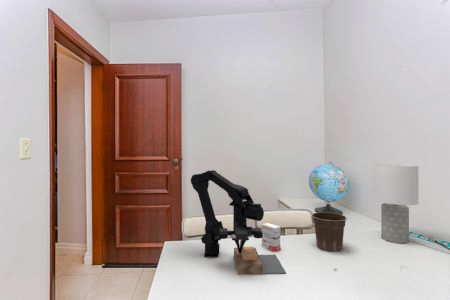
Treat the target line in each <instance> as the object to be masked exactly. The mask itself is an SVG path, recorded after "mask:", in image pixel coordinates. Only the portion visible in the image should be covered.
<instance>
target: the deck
mask: <svg viewBox="0 0 450 300" xmlns="http://www.w3.org/2000/svg"><path fill="white" fill-rule="evenodd" d="M253 247H254V248H255V251H256V253H257V260H243V259H242V255H241V253H239V251H238V248H237V247H233V258H234V264H235V269H236V273H237V276H247V275H248V276H251V275H255V276H256V275H264V274H263V264H262V262H261V259H260V257H259V255H260V254H259V252H258V250H257V248H256V247H255V246H253Z"/></svg>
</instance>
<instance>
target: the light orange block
mask: <svg viewBox="0 0 450 300" xmlns="http://www.w3.org/2000/svg"><path fill="white" fill-rule="evenodd" d="M254 247H255V246H243V249H242V252H241V255H242V259H243V260H257V253H258V252H257V253H256V251H255V248H256V247H255V248H254Z"/></svg>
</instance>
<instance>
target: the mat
mask: <svg viewBox="0 0 450 300" xmlns="http://www.w3.org/2000/svg"><path fill="white" fill-rule="evenodd" d="M258 255H259V257H260V259H261V262H262V264H263V274H262V275H287V271H286V270H285V268H284V266H283V265H282V263H281V261H280V260H279V258H278V256H277V255H276V254H258Z"/></svg>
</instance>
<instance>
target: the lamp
mask: <svg viewBox="0 0 450 300" xmlns="http://www.w3.org/2000/svg"><path fill="white" fill-rule="evenodd" d="M372 186H373V187H372V199H373V201H375V202H378V203H381V204H380V205H381V207H380V208H381V209H380V211H381V216H380V217H381V218H380V221H381V224H380V225H381V226H380V227H381V231H380V232H381V235H380V236H381V239H382V240H385V241H386V242H389V243H393V244H399V245H400V244H401V245H403V244H404V245H405V244H406V245H407V244H408V243H410V207H409V206H417V205H419V165H413V164H398V163H397V164H394V163H393V164H392V163H391V164H389V163H388V164H386V163H381V164H379V163H378V164H377V163H375V164H373V165H372Z"/></svg>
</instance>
